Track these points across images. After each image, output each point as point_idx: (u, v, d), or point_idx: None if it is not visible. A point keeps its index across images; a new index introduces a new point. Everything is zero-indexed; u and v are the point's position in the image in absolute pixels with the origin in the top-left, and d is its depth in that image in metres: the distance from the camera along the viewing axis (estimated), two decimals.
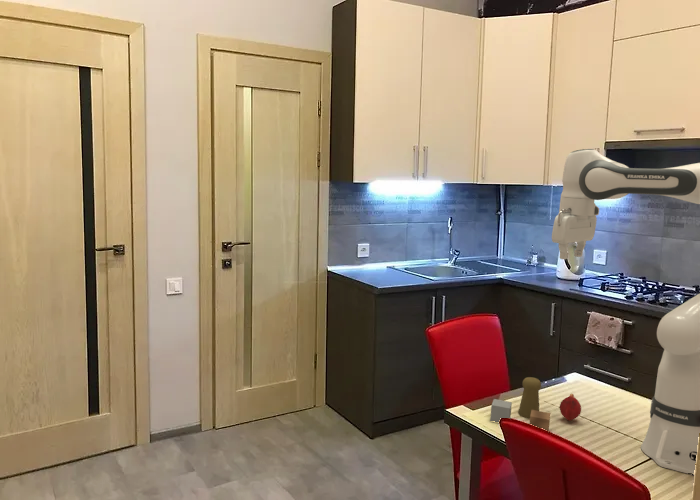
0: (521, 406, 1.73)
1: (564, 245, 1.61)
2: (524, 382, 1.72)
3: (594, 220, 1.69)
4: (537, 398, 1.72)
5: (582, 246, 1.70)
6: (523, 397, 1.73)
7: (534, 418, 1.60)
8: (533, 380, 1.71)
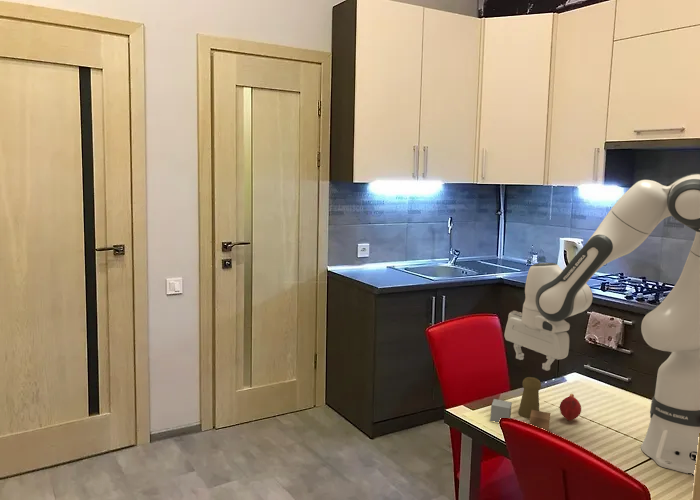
0: (521, 406, 1.73)
1: None
2: (524, 382, 1.72)
3: (553, 337, 1.63)
4: (537, 398, 1.72)
5: None
6: (523, 397, 1.73)
7: (534, 418, 1.60)
8: (533, 380, 1.71)
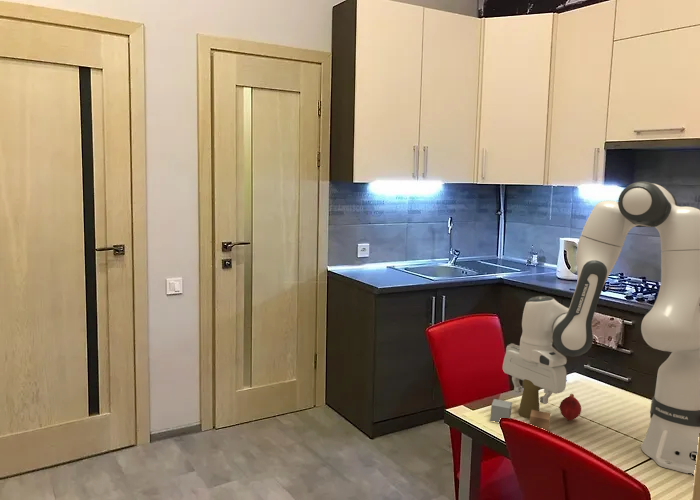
0: (521, 406, 1.73)
1: None
2: (524, 382, 1.72)
3: (551, 372, 1.64)
4: (537, 398, 1.72)
5: None
6: (523, 397, 1.73)
7: (534, 418, 1.60)
8: None
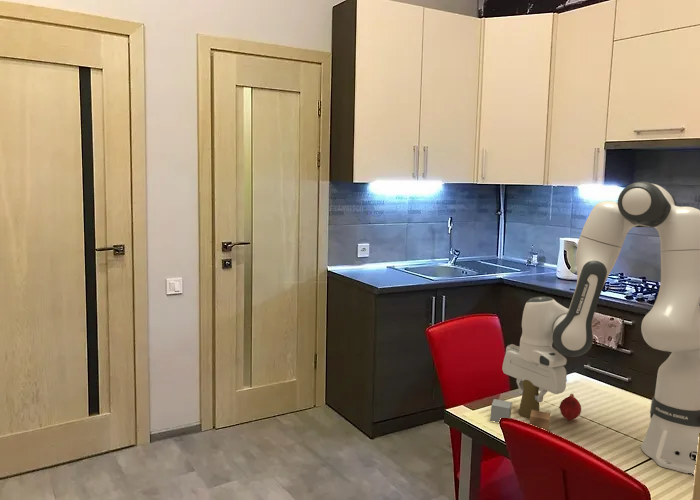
0: (521, 406, 1.73)
1: None
2: (524, 382, 1.72)
3: (551, 372, 1.64)
4: None
5: None
6: (523, 397, 1.73)
7: (534, 418, 1.60)
8: None
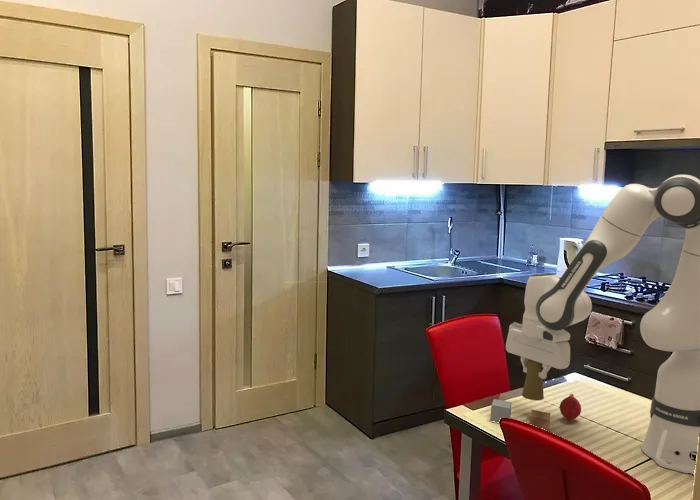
0: (525, 388, 1.72)
1: None
2: (527, 363, 1.71)
3: (554, 347, 1.63)
4: (541, 379, 1.71)
5: None
6: (527, 379, 1.72)
7: (534, 418, 1.60)
8: None
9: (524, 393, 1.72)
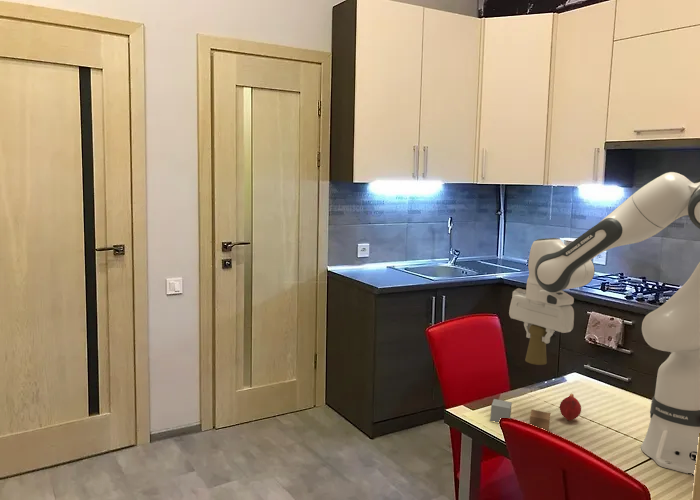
0: (528, 353, 1.73)
1: None
2: (531, 328, 1.72)
3: (558, 311, 1.64)
4: (544, 344, 1.71)
5: None
6: (530, 343, 1.72)
7: (534, 418, 1.60)
8: (540, 326, 1.71)
9: (527, 358, 1.73)
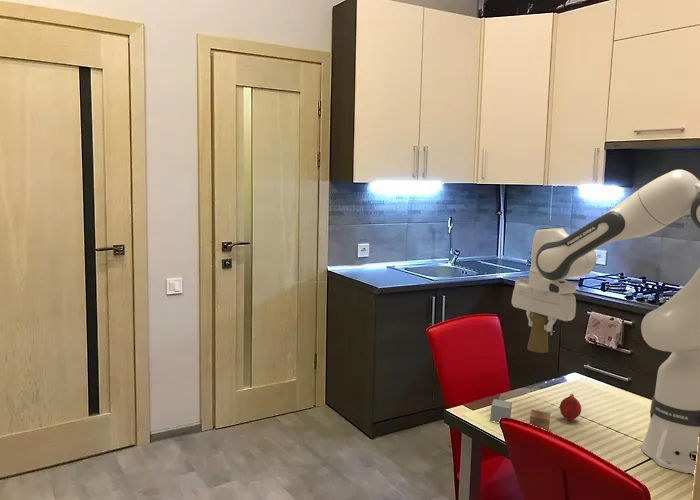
0: (530, 341, 1.74)
1: None
2: (533, 316, 1.73)
3: (560, 299, 1.65)
4: (546, 332, 1.73)
5: None
6: (532, 332, 1.74)
7: (534, 418, 1.60)
8: None
9: (529, 346, 1.74)
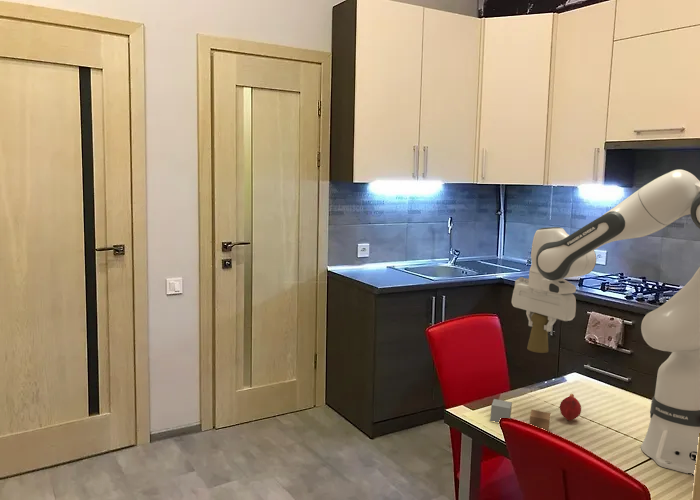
0: (530, 341, 1.74)
1: None
2: (533, 316, 1.73)
3: (560, 299, 1.65)
4: (546, 332, 1.73)
5: None
6: (532, 332, 1.74)
7: (534, 418, 1.60)
8: None
9: (529, 346, 1.74)
